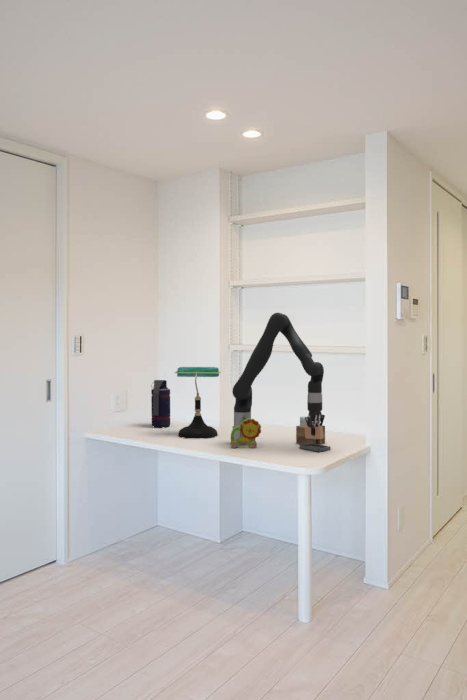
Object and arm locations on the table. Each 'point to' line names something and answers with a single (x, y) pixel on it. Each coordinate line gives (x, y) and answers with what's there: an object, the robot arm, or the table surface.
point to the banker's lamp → (197, 404)
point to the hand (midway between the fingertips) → (315, 434)
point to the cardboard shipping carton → (302, 440)
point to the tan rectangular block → (317, 433)
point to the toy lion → (246, 433)
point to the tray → (314, 447)
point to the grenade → (160, 403)
